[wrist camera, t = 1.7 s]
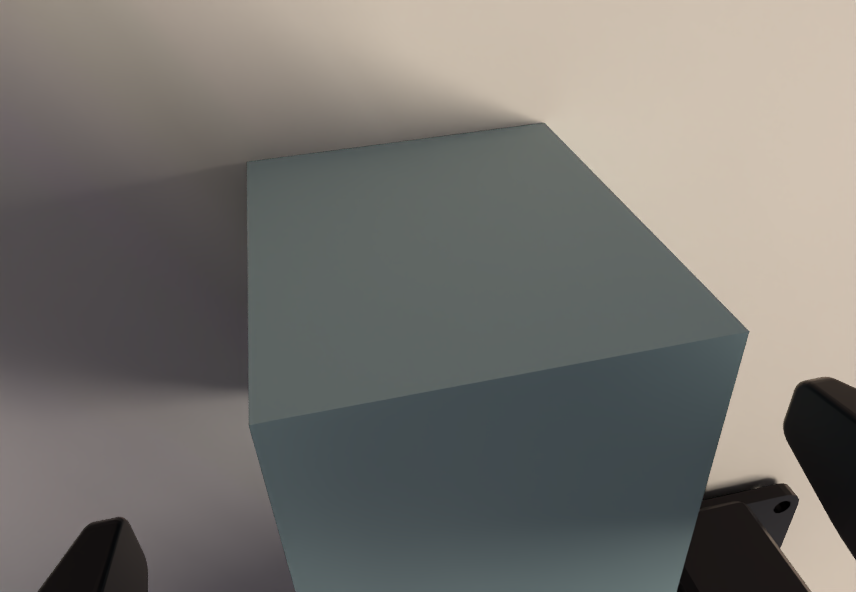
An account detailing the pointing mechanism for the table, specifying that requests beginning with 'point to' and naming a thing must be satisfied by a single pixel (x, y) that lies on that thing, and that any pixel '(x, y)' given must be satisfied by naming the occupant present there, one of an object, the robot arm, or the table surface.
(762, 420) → the table surface
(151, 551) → the table surface
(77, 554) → the robot arm
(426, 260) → the slate block
